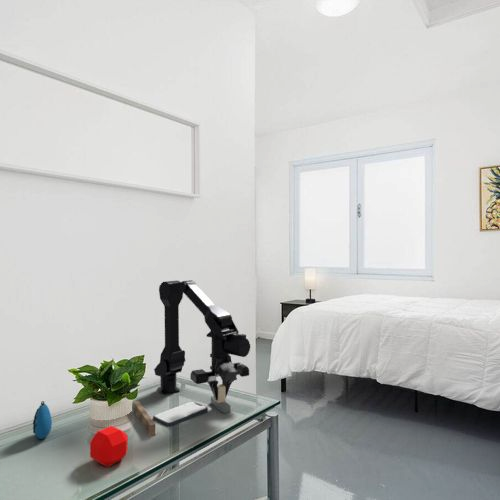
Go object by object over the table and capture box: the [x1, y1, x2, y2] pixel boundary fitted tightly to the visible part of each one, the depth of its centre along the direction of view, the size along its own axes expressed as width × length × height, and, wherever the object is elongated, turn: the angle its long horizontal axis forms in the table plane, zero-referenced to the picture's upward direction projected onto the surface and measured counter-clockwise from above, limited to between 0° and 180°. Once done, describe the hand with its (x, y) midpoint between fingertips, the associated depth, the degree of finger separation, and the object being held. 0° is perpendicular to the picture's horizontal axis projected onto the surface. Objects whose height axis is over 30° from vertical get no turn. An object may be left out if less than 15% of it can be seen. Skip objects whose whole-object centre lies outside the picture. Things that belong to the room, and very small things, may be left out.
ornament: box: [32, 400, 53, 440], centre depth 120 cm, size 8×5×10 cm, turn 18°
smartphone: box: [152, 401, 209, 427], centre depth 135 cm, size 9×2×16 cm
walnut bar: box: [133, 400, 156, 437], centre depth 130 cm, size 20×2×3 cm, turn 28°
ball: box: [89, 425, 129, 468], centre depth 107 cm, size 8×8×8 cm
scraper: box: [210, 383, 231, 414], centre depth 142 cm, size 10×2×7 cm, turn 28°
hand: (220, 399), depth 142 cm, fingers closed on scraper, 2 cm apart
